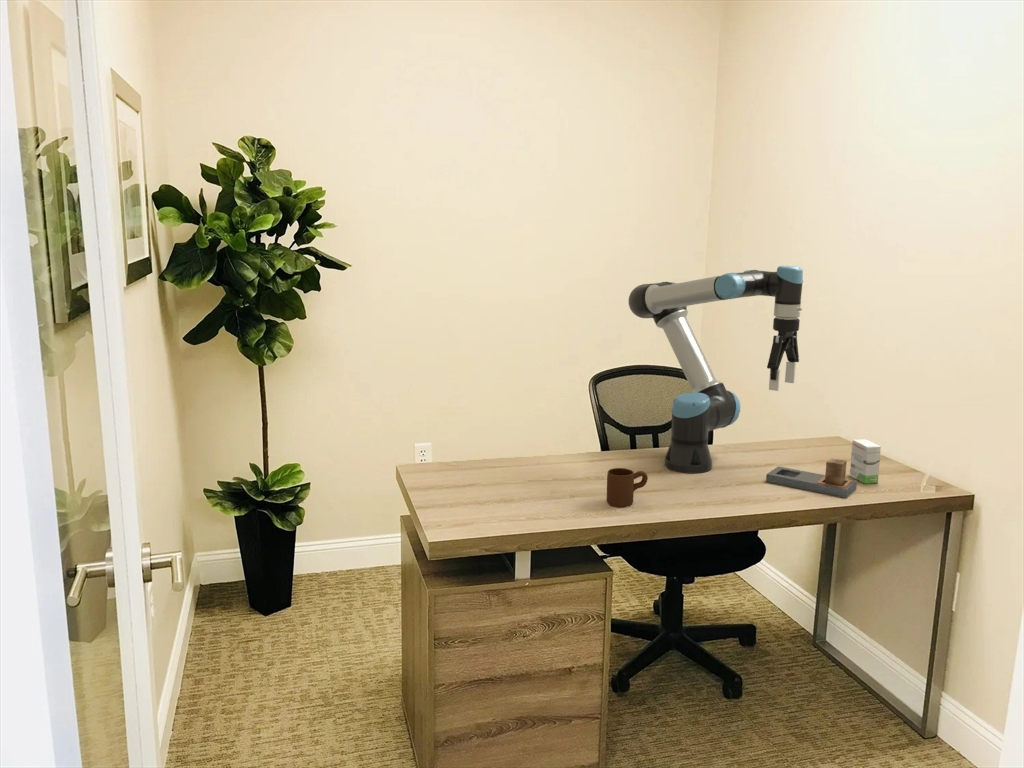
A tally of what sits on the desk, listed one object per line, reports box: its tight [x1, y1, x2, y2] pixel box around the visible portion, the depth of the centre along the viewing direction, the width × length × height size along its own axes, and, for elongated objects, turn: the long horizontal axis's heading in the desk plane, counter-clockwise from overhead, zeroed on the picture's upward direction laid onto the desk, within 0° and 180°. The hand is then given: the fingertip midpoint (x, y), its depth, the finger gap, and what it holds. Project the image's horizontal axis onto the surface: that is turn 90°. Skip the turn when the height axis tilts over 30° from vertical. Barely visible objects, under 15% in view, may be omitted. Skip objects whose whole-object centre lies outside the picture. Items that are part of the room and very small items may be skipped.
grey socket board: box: [765, 466, 858, 499], centre depth 258 cm, size 24×10×3 cm, turn 53°
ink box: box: [849, 439, 881, 485], centre depth 263 cm, size 9×5×12 cm, turn 9°
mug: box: [606, 467, 649, 508], centre depth 242 cm, size 12×8×9 cm, turn 104°
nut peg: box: [824, 458, 848, 486], centre depth 253 cm, size 4×4×9 cm
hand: (781, 386), depth 261 cm, fingers open, 13 cm apart
